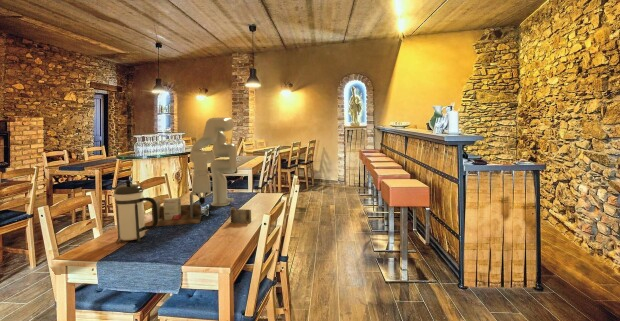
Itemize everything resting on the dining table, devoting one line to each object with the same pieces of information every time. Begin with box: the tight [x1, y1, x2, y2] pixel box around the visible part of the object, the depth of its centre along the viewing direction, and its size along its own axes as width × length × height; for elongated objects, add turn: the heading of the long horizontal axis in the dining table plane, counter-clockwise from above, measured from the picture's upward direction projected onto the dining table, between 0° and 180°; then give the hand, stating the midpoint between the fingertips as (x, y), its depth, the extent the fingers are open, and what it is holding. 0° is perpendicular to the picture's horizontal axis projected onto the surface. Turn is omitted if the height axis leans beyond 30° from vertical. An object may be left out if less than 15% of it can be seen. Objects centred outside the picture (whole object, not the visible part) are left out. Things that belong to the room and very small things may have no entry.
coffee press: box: [111, 179, 158, 244], centre depth 175 cm, size 17×16×30 cm
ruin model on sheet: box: [230, 206, 252, 224], centre depth 204 cm, size 11×3×10 cm, turn 83°
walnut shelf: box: [151, 198, 202, 227], centre depth 208 cm, size 25×16×12 cm, turn 104°
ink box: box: [162, 197, 182, 220], centre depth 207 cm, size 9×5×12 cm, turn 90°
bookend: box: [189, 191, 202, 219], centre depth 210 cm, size 5×9×14 cm, turn 14°
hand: (202, 204), depth 211 cm, fingers closed
